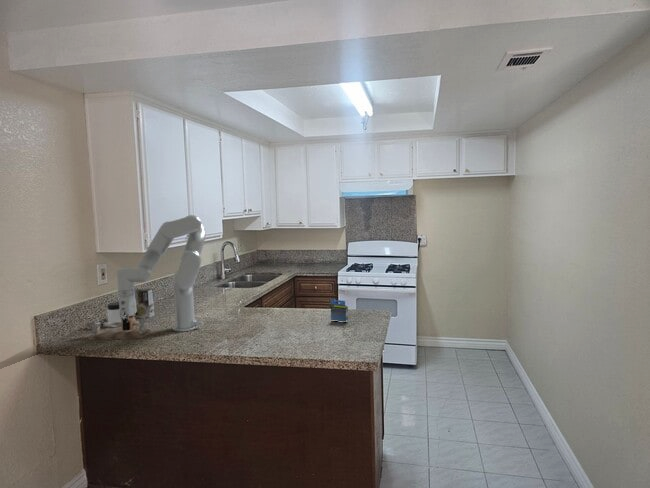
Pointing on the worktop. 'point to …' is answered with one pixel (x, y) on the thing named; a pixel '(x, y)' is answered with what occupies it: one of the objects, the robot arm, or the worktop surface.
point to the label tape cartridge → (339, 310)
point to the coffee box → (144, 303)
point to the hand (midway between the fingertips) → (128, 328)
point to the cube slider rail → (116, 333)
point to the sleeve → (130, 323)
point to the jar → (114, 313)
